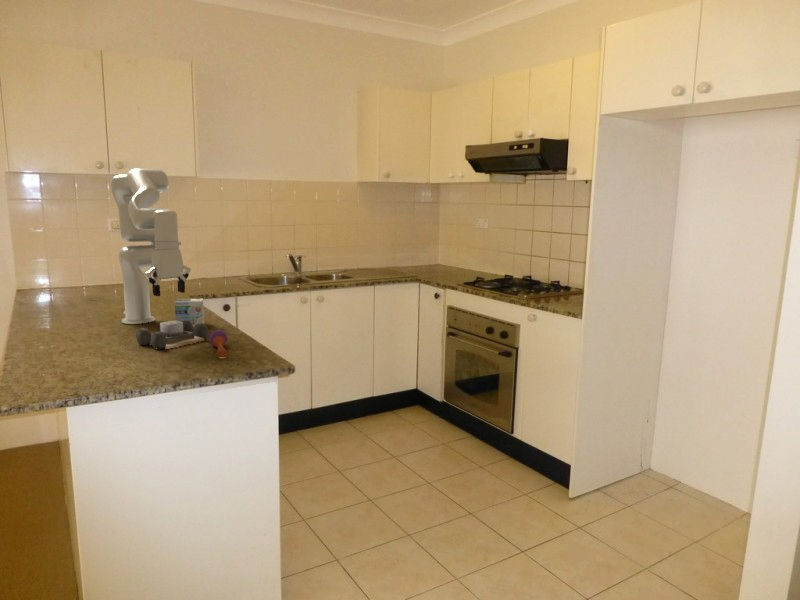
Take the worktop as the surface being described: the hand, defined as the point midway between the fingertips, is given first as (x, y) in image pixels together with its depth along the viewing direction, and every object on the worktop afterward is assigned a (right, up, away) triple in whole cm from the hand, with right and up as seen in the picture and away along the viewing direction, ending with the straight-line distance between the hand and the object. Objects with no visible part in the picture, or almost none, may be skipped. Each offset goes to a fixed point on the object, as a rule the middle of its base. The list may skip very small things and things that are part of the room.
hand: (169, 293), depth 204 cm
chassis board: (0, -17, +3) cm, 18 cm away
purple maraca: (+21, -20, -9) cm, 30 cm away
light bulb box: (-3, -13, +29) cm, 32 cm away
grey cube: (0, -16, +2) cm, 16 cm away
